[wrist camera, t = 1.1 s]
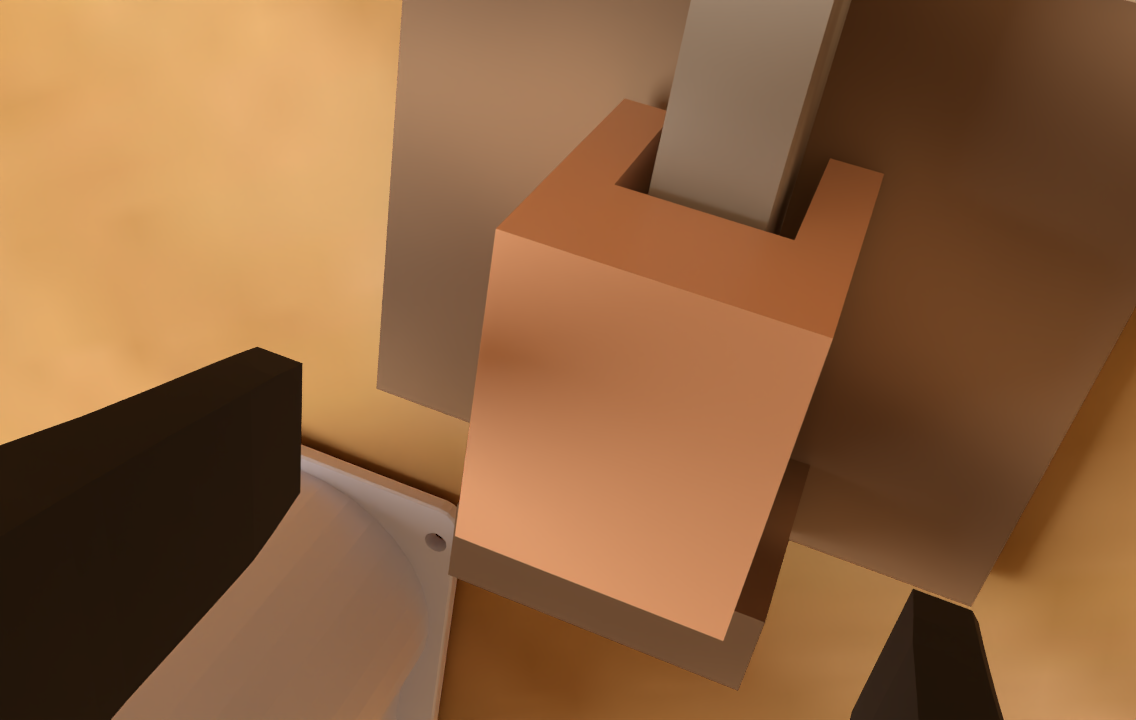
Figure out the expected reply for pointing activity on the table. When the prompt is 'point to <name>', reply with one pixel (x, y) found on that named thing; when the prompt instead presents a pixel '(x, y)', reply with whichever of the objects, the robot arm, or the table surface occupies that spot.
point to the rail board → (778, 205)
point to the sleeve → (648, 375)
